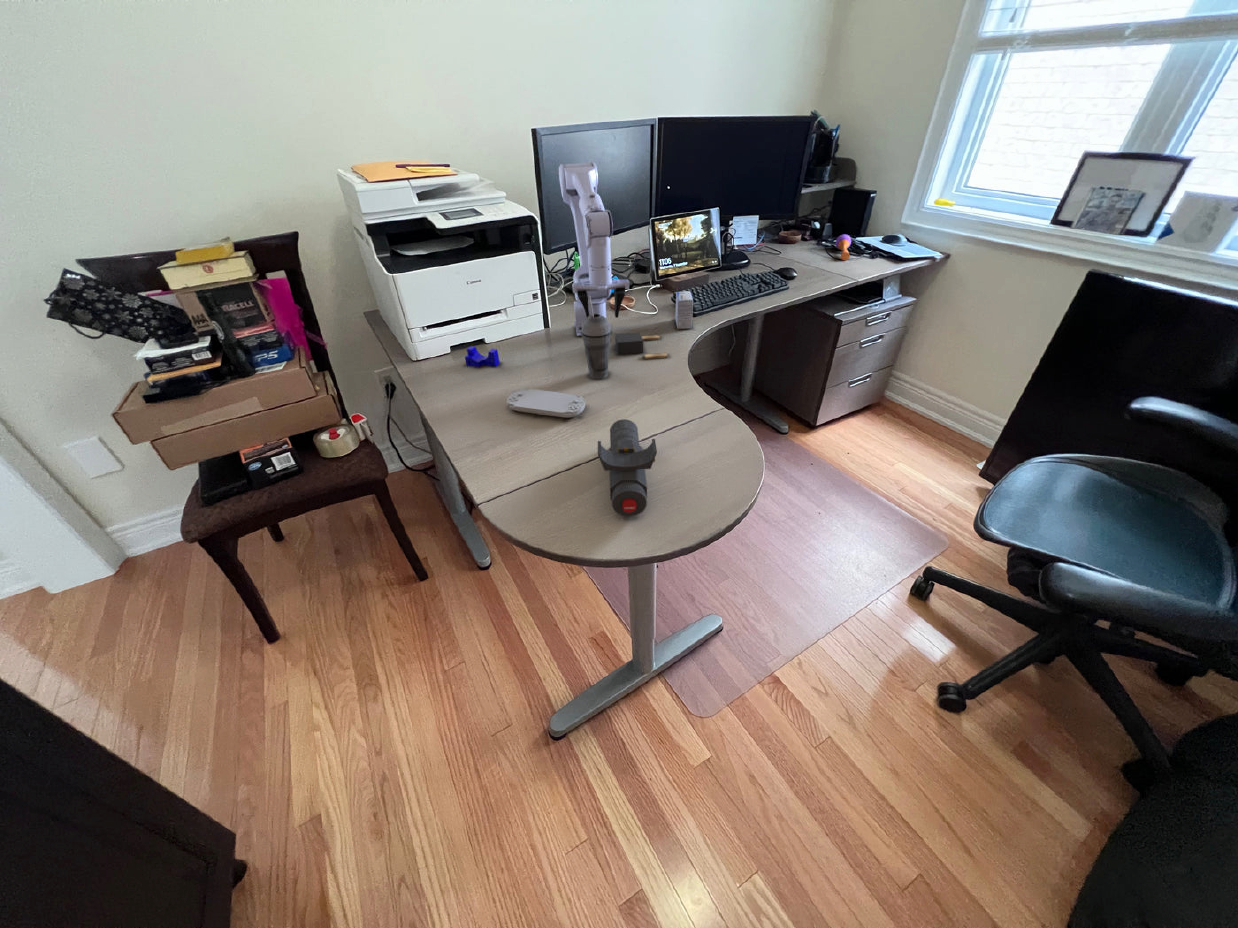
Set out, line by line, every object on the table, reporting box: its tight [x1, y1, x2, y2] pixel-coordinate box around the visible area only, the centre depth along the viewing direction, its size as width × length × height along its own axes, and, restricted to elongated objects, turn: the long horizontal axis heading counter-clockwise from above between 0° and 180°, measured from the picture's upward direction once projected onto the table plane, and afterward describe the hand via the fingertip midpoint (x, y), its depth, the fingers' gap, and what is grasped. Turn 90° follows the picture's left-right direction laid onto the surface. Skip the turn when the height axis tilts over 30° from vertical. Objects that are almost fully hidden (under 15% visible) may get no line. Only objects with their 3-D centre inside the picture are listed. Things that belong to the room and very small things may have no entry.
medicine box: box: [674, 290, 694, 330], centre depth 146 cm, size 8×4×9 cm, turn 179°
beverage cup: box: [581, 296, 612, 380], centre depth 118 cm, size 7×7×20 cm
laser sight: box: [597, 418, 658, 517], centre depth 88 cm, size 10×22×10 cm, turn 2°
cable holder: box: [464, 345, 501, 368], centre depth 129 cm, size 8×4×4 cm, turn 71°
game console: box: [506, 388, 586, 419], centre depth 111 cm, size 18×2×8 cm
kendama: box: [835, 234, 852, 262], centre depth 202 cm, size 6×6×20 cm
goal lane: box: [641, 334, 668, 360], centre depth 136 cm, size 6×14×1 cm, turn 6°
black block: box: [614, 331, 644, 355], centre depth 135 cm, size 7×6×4 cm
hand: (602, 317), depth 132 cm, fingers open, 7 cm apart
